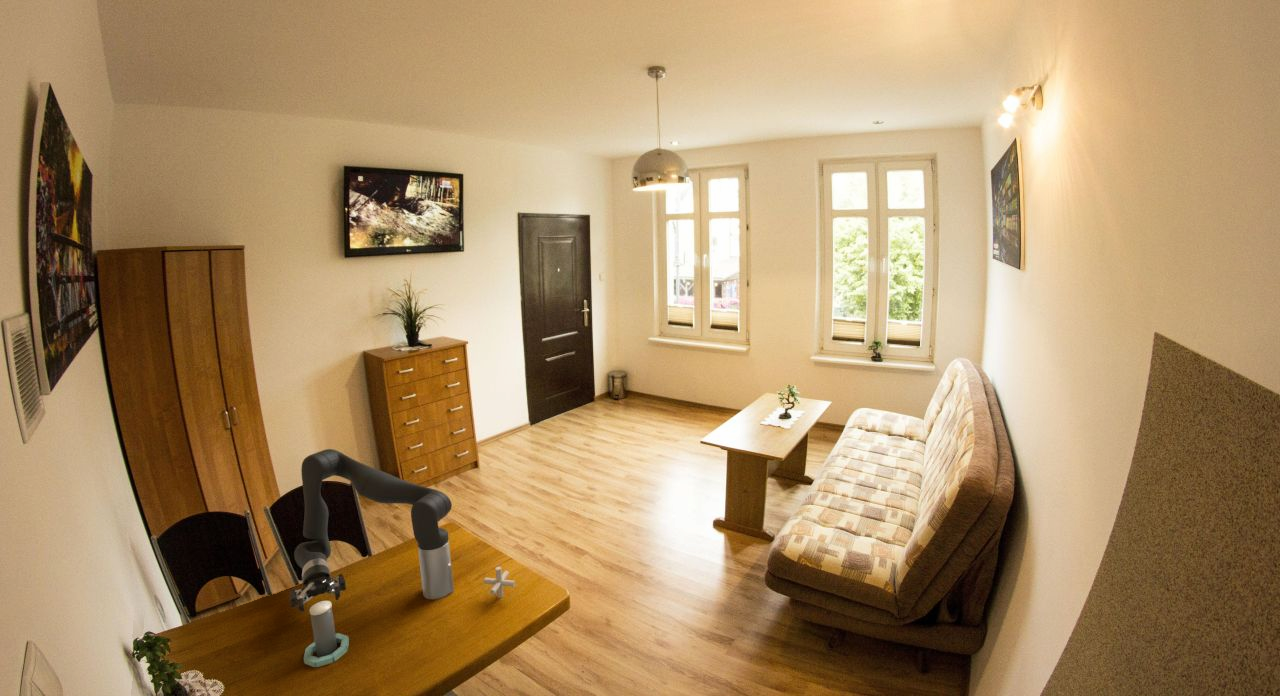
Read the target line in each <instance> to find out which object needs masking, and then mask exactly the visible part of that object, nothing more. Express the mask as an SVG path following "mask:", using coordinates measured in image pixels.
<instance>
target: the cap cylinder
mask: <svg viewBox="0 0 1280 696" xmlns="http://www.w3.org/2000/svg"><path fill="white" fill-rule="evenodd" d="M332 606H333V605H332V601H330V600H321V601H319V602H316V603H314V604H313V605H311V607H310V608H309V610H308V611H309V615H310V619H311V628H312V634H313V639H314V640H313V642H315V648H316V651H315V653H316V657H317V658H320V657H323V656H327V655H330V654H332V653H333V652H335V651H336V650H337V649H338V644H337V642H336V635H335V633H336V629H335V621H334V615H333V607H332Z"/></svg>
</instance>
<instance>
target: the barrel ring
mask: <svg viewBox="0 0 1280 696" xmlns="http://www.w3.org/2000/svg"><path fill="white" fill-rule="evenodd" d="M335 635H336V642H337V643H338V644H340V647H337V650H336V651H335V652H333V653H332V654H330V655H327V656H323V657H320V658H318V657H317V656H315V655H313V654H314V652H316V648H315V641H313V642H312V643H310V644H309V645H308V646H307V647H306V648H305V651H304V654H303V664H305V665H307V666H309V667H313V668H319V667H323V666H326V665H329V664H333V663H334V662H336V661H338V659H340V658H341V657H342V656H343V655H345V654H346V653H347V652H348V651H349V645H350V644H349V643H350V639H349V635H346V634H342V633H341V632H340V633H338V632H337V633H336V632H335Z"/></svg>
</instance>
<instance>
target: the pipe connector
mask: <svg viewBox="0 0 1280 696" xmlns="http://www.w3.org/2000/svg"><path fill="white" fill-rule="evenodd" d="M502 569H503V568H502V566H496V567H495V578H492V577H485V578H484V579H483V584H484V585H492V587H491V588H490V589H489V594H490V595H491V596H494V595H495V594H497V599H502V598H504V587H511V588H514V587H515V586H516V581H515V580H510V579H507V577H509V575H510V572H509V571H508V570H505V571H503V570H502ZM502 572H503V573H502Z"/></svg>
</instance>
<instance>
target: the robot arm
mask: <svg viewBox="0 0 1280 696" xmlns="http://www.w3.org/2000/svg"><path fill="white" fill-rule="evenodd" d="M300 471H301V480H302V482H301V483H302V490H303V491H302V492H303V500H304V516H303V517H304V518H303V526H302V527H303V529H302V534H303V537H304V538H306V539H309V540H312V541H305V542H301V543H300V544H298V545H297V546H296V548H295V550H294V553H293V555H294V560H295V562H296V564H297V566H299V567H300V568H301V572H302V573H301V582H302V587H301V588H300V589H297V590H296V588H291V589H290V593H289V603H290V607H291V608H294V607H296V606H297V608H298V611H301V612H302V613H303V612H305V603H307V602H309V601H310V600H311V599H312V598H314V597H317V596H319V595H324V594H325V593H326V594H330V595H332V594H334V598H335V601H338V600H339V598H341V596H342V595H341V591H342V592H343V591H346V590H347V586H346V585H347V584H346V579H345V576H344V574H343V573H339V574H338V575H337V577H334V578H333V577H332V576H331V570H330V566H329V563H328V558H329V557H330V556H331V554H332V547H331V543H330V541H329V535H328V525H329V524H328V523H329V508H328V504H327V503H326V502H325V500H324V499H323V496H322V494H321V493H322V492H321V488H322V483H323V481H324V480H326V479H328V478H331V477H335V476H336V477H340V478H343V479H346V480H348V481H349V482H351V484H352V486H353V488H354V490H355V491H356V492H357V493H358V494H359V495H360V496H362V497H364V498H366V499H368V500H370V501H373V502H376V503H378V504H379V503H381V504H403V505H404V504H405V505H412V506H411V509H410V520H411V525H412V531H413V536H414V539H415V541H416V543H417V548H418V560H419V566H420V567H419V568H420V569H419V570H420V578H421V588H422V596H423V597H424V598H425V599H427V600H438V599H441V598H444V597H446V596H448V595H450V594H451V593H454V590H455V588H454V580H453V569H452V568H453V567H452V561H451V551H450V550H451V549H450V541H449V533H448V530H447V529H445V528H442V527H439V521H441V520H442V519H443V518H445V517H446V516H447V515H448V514H449V513H450V511H451V510H452V504H453V503H452V501H451V499H450V498H449V496H448V495H447V494H446V493H445V492H443V491H440V490H438V489H433V488H431V487H426V486H423V485H419V484H417V483H413V482H410V481H408V480H405V479H403V478H399V477H396V476H395V475H392V474H390V473H388V472H385V471H382V470H380V469H377V468H374V467H371V466H370V465H366V464H364V463H361V462H360V461H357V460H355V459H353V458H351V457H350V456H347V454H344V453H342V452H340V451H339V450H336V449H332V448H327V449H323V450H320V451H317V452H314V453H312V454H310V455H307V456H306V457H305V458H304V459H303V461H302V463H301V470H300Z"/></svg>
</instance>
